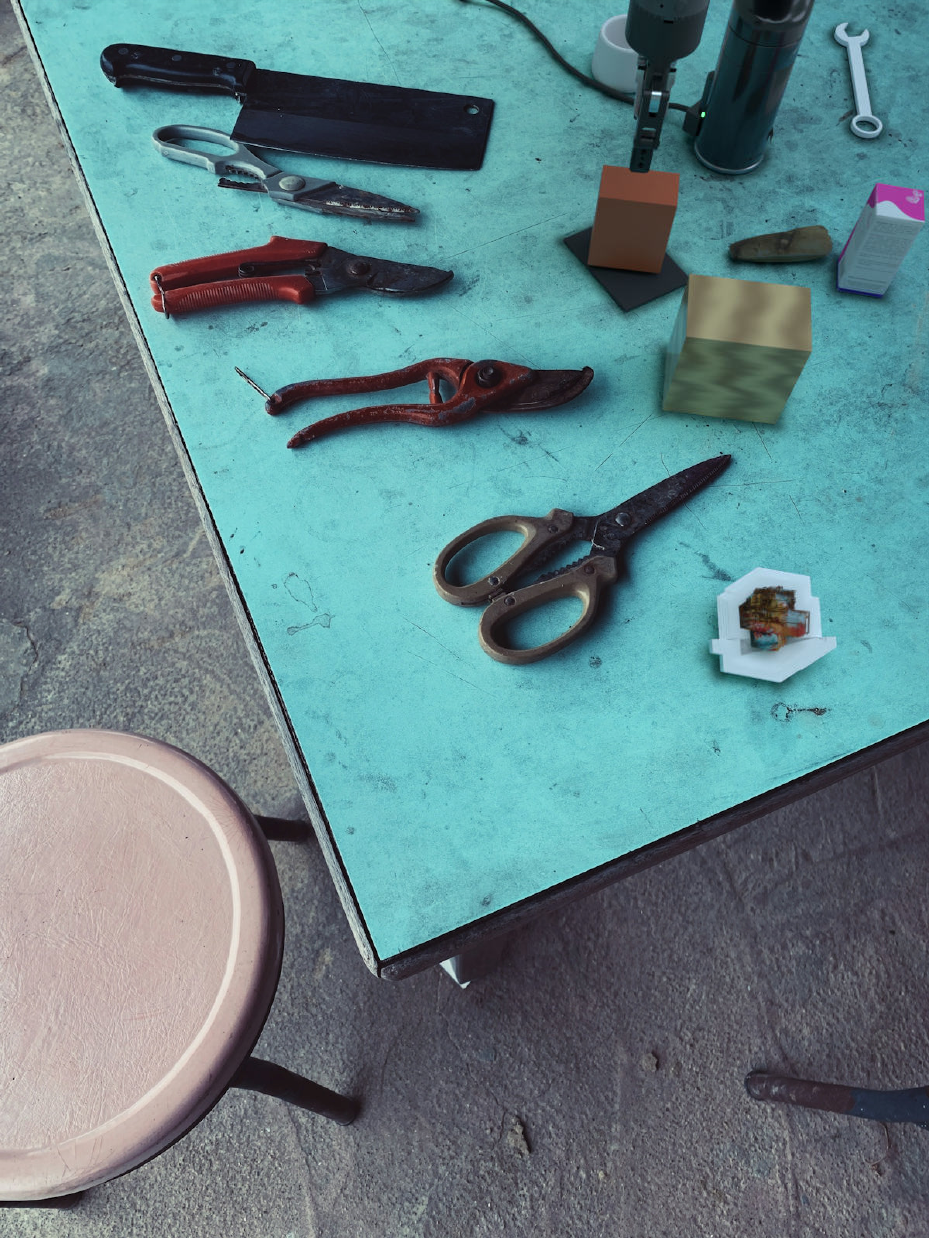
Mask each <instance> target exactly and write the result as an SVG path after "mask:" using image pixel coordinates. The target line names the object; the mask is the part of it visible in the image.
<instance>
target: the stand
mask: <svg viewBox="0 0 929 1238" xmlns="http://www.w3.org/2000/svg"><path fill="white" fill-rule="evenodd" d="M811 291H812V289H811V287H806V286H798V285H789V284H780V283H773V282H772V283H771V282H764V281H755V280H747V279H738V278H729V277H720V276H713V275H712V276H711V275H704V274H695V273H689V274H688V280H687V284H686V285H685V286H684V290H683V294H682V297H681V301H680V304H679V308H678V311H677V313H676V317H675V321H674V324H673V328H672V330H671V335H670V337H669V340H668V344H667V348H666V352H665V365H664V366H665V367H664V381H663V394H662V395H663V398H662V409H661V411H667V412H674V413H682V414H690V415H698V416H706V417H713V418H722V419H728V420H729V419H731V420H738V421H746V422H754V423H761V424H768V425H770V424H771V425H776V424H777V422H778V420H779V419H780V416H781V415H782V413H783V410H784V408H785V406H786V404H787V402H788V400H789V398H790V397H791V395H792V392H793V391H794V388H795V387H796V385H797V382H798V381H799V378H800V376H801V374H802V372H803V370H804V369H805V366H806V365H807V363H808V360H809V359H810V356H811V355H812V353H813V337H812V336H813V332H812V294H811V293H812V292H811Z"/></svg>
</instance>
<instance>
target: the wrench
mask: <svg viewBox="0 0 929 1238" xmlns="http://www.w3.org/2000/svg"><path fill="white" fill-rule="evenodd" d="M848 25H849V22H842V23H840V24H838V25H837V26H836V29H835V31H834V33H833V34H834V35H833V38H834V39H835V41H836V42H837V43H839V44H840V45H841V46H843V47H846V50H847V56H848V63H849V64H848V65H849V69H850V76H851V82H852V89H853V95H854V101H855V109H856V115H855V116H854V117H853V118H852V121H851V123H850V130H851V131H852V133H853V134H855V135H856V136H858V137H860V138H865V139H872V138H877V136H879V135H880V133H881V131H882V129H883V123H882V121H881V120H880V119H879V118H878V117H877V116H875V115H873V114H872V109H871V108H872V107H871V102H870V96H869V90H868V83H867V77H866V71H865V66H864V60H863V54H862V49H861V48H862V47H864V46H865V45H866V44H867V42H868V41H869V38H870V31H868V29H867V28H865V30H864V31H863V32H862V33H861V35H855V36H848V34H847V32H846V31H845V30H846V29H847V27H848ZM860 121H862V122H863V121H865V122H869V123H872V124H873V125H874V126H875V127H876V129H875V130H874V131H867V130H863V129H861V128H860V127H858V126H857V124H856V123H858V122H860Z"/></svg>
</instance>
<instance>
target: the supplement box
mask: <svg viewBox="0 0 929 1238" xmlns="http://www.w3.org/2000/svg"><path fill="white" fill-rule="evenodd" d="M925 212H926V211H925V191H924V190H922V189H917V188H910V187H904V186H899V185H892V184H887V183H881V182H876V183H875V185H874V186H873V189H872V190H871V192H870V195H869V196H868V198H867V201H866V202H865V205H864V207H863V209H862V211H861V213H860V214H859V216H858V219H857V220H856V223H855V225H854V226H853V229H852V231H851V233H850V235H849V237H848V239H847V240H846V242H845V244H844V246H843V249H842V251H841V252H840V255H839V256H838V258H837V266H836V267H837V268H836V291H837V292H842V293H848V294H854V295H855V294H856V295H861V296H868V297H873V298H879V299H880V298H883V296H884V295H885V293H886V291H887V290H888V288H889V286H890V284H891V283H892V281H893V279H894V277H895V276H896V274H897V272H898V270H899V269H900V267H901V265H902V264H903V262H904V260H905V259H906V257H907V255H908V253H909V252H910V250H911V248H912V246H913V245H914V242H916V240H917V237H918V236H919V234H920V232H921V231H922V229H923V227H924V226H925V223H926V216H925V215H926V213H925Z"/></svg>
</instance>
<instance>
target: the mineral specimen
mask: <svg viewBox="0 0 929 1238" xmlns="http://www.w3.org/2000/svg"><path fill="white" fill-rule="evenodd" d="M716 605H717V606H716V607H717V608H716V609H717V624H718V625H717V626H718V638H711V639H708V646H709V647H708V648H709V654H712V655H717V656H719V670H720V673H725V674H732V675H736V676H741V677H746V678H751V679H757V680H763V681H767V682H772V683H782V682H784V681H785V680H787V679H788V678H789V677H791V676H794V674H796V673H797V672H798V671H802V670H804V669H806V668H807V667H808V666H810V665H811V664H814V663H815V662H817V660H820V659H821V658H823V657H824V656H825V655H827V654H828V653H830V652H831V651H833V650H835V649H836V648H837V647H838V644H837V636H834V635H833V636H823V631H822V618H821V616H822V615H821V603H820V597H819V596H814V595H812V583H811V576H810V575H805V574H799V573H793V572H789V571H788V572H787V571H784V570H783V571H782V570H777V569H772V568H771V569H770V568H766V567H760V566H757V567H755V568H753V569H752V570H750V571H749V572H748V573H746V574H744V575H743V576H742V577H740V578H739V579H737V580H735V581H734V582H733V583H731V584H728V586H726V587H724V588H723V592H721V593H719V594H718V595H717V596H716Z"/></svg>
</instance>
